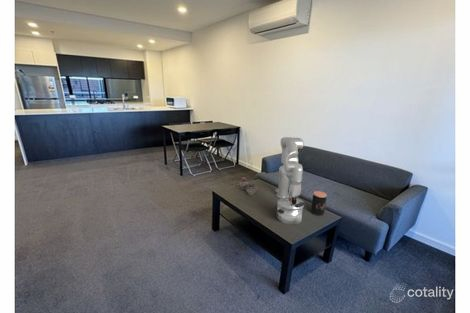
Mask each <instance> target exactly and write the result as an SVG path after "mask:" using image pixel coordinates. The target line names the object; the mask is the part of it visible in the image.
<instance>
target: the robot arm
mask: <svg viewBox="0 0 470 313" xmlns="http://www.w3.org/2000/svg"><path fill="white" fill-rule="evenodd" d="M280 146H281V147H280V148H281V158H280V160H281V164H282V165H280V167H278V168H279V169H278V174H279V176H278V177H279V178H278V188H276V189H275V192H276V194H275V196H276V197H277V198H278V199H281V198H285V197H289V196H290V198H291V199H292V204H294V205H295V204H296V201H297V200H296V199H298V197H299V196H300V195H301V192H302V180H303V170H304V169H303V164H301V163H299V157H298V156H299V151H298V149H303V148H304V147H305V142H304V140H303V139H302V138H299V137H292V136H291V137H287V136H285V137H282V138H280ZM288 176H289V177H291V181H290V179H289V177H288ZM289 184H290V185H289Z"/></svg>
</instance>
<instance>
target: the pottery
mask: <svg viewBox="0 0 470 313" xmlns="http://www.w3.org/2000/svg"><path fill="white" fill-rule="evenodd" d="M238 184H239V187H240V189H241V190H246V192H247V194H248V195H249V196H254V195H255V194H256V192H257V191H258V187H256V184H255V182H253V183H252V182H250V183H249V181H247V177H245V176H244V177H243V176H242V177H241V180H240V181H239V183H238Z"/></svg>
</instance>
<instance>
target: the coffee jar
mask: <svg viewBox="0 0 470 313" xmlns="http://www.w3.org/2000/svg"><path fill="white" fill-rule="evenodd" d="M327 195H328V194H327V193H325V192H324V191H320V190H319V191H318V190H316V191H313V195H312V201H311V207H310V208H311V209H310V212H311V214H313V215H314V214H315V216H318V215H321V216H323V215H324V214H325V208H326V204H327Z"/></svg>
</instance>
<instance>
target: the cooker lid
mask: <svg viewBox="0 0 470 313" xmlns="http://www.w3.org/2000/svg"><path fill="white" fill-rule="evenodd" d="M296 200H297V201H296V204H295V205H294V204H292V199H291V198H290V196H289V197H285V198H278V200H277V202H278V205H279V206H280V207H282V208H285V209H290V210H298V209H301V208H303V209H304V208H305V205H306V204H305V201H303V200H302V199H300V198H297V199H296ZM278 205H277V206H278Z"/></svg>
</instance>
